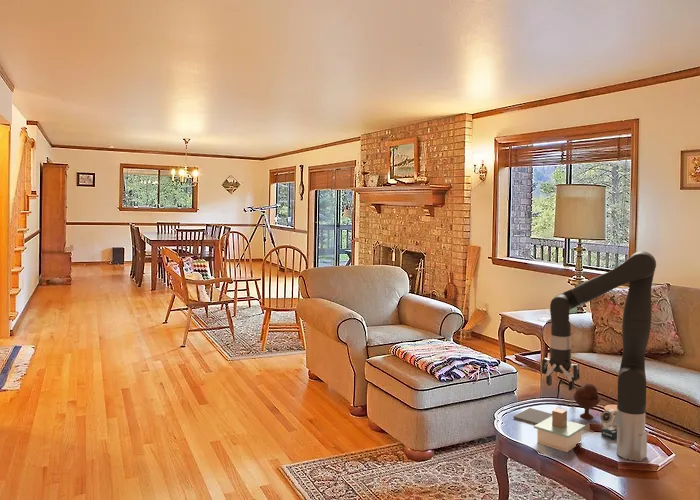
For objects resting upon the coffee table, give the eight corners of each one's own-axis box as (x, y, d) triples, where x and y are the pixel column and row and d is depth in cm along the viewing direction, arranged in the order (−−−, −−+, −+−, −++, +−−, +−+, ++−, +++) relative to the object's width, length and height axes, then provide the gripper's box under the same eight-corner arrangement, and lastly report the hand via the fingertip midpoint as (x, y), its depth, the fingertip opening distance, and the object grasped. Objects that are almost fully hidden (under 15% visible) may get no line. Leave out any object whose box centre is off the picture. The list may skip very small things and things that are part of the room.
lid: (585, 429, 223) (585, 410, 223) (568, 440, 214) (568, 420, 213) (551, 420, 233) (551, 401, 233) (533, 430, 224) (533, 410, 223)
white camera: (633, 425, 240) (634, 403, 239) (630, 434, 231) (631, 411, 230) (605, 420, 245) (606, 399, 245) (601, 429, 236) (602, 406, 236)
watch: (597, 436, 229) (598, 409, 228) (611, 432, 233) (612, 406, 232) (609, 441, 224) (610, 414, 223) (623, 437, 228) (624, 410, 227)
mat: (563, 419, 248) (563, 416, 248) (547, 428, 238) (547, 426, 238) (529, 410, 259) (529, 407, 259) (513, 418, 250) (513, 416, 250)
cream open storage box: (581, 442, 224) (581, 427, 223) (566, 452, 215) (567, 436, 215) (552, 433, 232) (552, 419, 232) (537, 442, 224) (537, 427, 224)
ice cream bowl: (595, 412, 254) (595, 379, 253) (603, 422, 243) (604, 387, 242) (570, 412, 256) (570, 379, 254) (577, 421, 244) (578, 387, 243)
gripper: (583, 347, 218) (582, 389, 220) (548, 341, 229) (547, 381, 230) (574, 351, 213) (573, 394, 214) (538, 345, 223) (538, 385, 225)
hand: (559, 387), depth 222 cm, fingers open, 8 cm apart
